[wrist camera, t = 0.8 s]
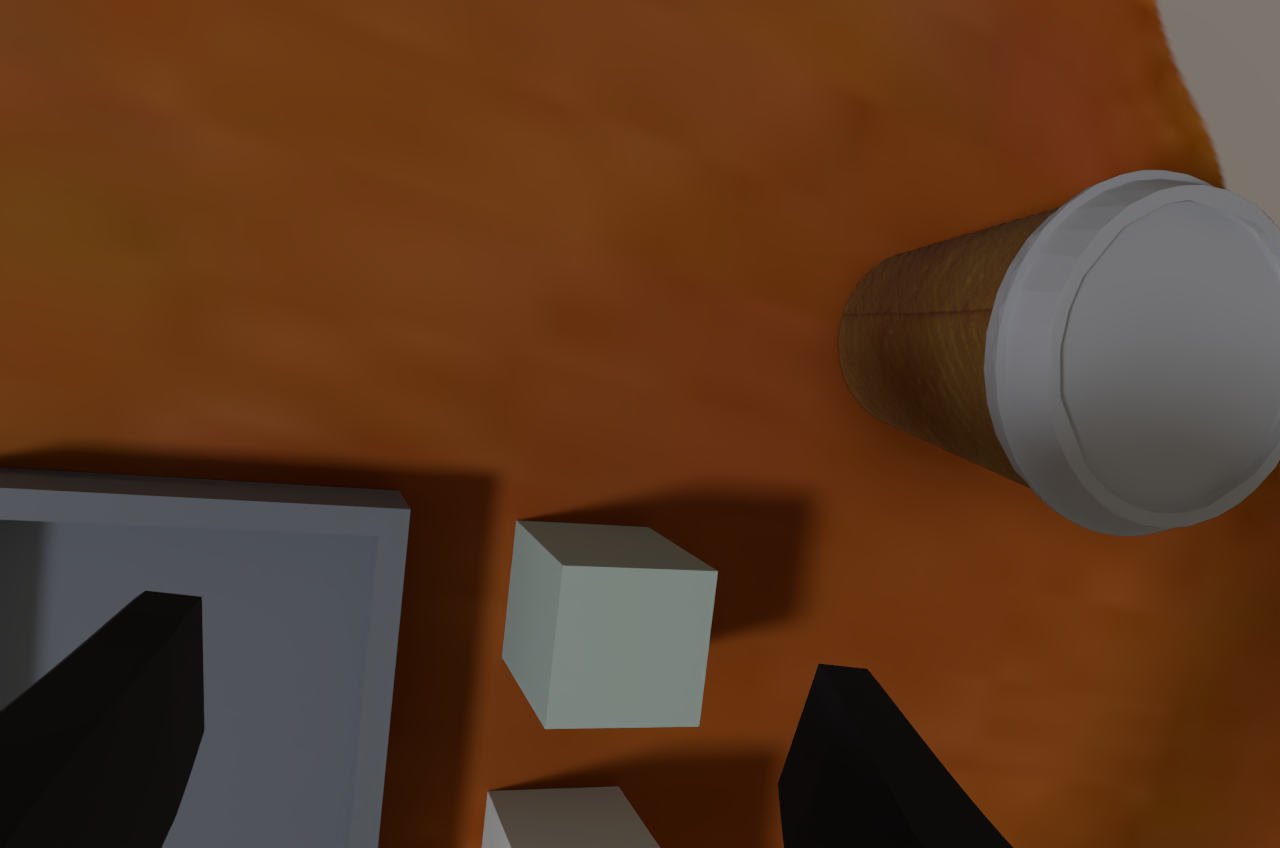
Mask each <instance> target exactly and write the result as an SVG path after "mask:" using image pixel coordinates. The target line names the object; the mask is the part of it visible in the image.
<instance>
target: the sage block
mask: <svg viewBox="0 0 1280 848" xmlns="http://www.w3.org/2000/svg"><path fill="white" fill-rule="evenodd" d="M717 575H718V571H717V570H715V569H714V568H712V567H711V566H709V565H707V564H706V563H704V562H703V561H701V560H700V559H698V558H696V557H695V556H693V555H692V554H690V553H689V552H687V551H685V550H684V549H682V548H681V547H679V546H678V545H676V544H674V543H673V542H671V541H670V540H668V539H667V538H665V537H663V536H662V535H660V534H659V533H657V532H655V531H654V530H652V529H651V528H649V527H637V526H617V525H598V524H578V523H558V522H538V521H518V520H516V529H515V539H514V548H513V558H512V567H511V577H510V586H509V596H508V605H507V615H506V624H505V634H504V643H503V653H502V658H503V660H504V661H505V663H506V665H507V666H508V668H509V670H510V671H511V673H512V675H513V676H514V678H515V680H516V681H517V683H518V685H519V686H520V688H521V690H522V691H523V693H524V695H525V696H526V698H527V700H528V701H529V703H530V705H531V706H532V708H533V710H534V711H535V713H536V715H537V716H538V718H539V720H540V721H541V723H542V725H543V726H544V728H545V729H575V728H638V727H699V723H700V715H701V707H702V699H703V691H704V682H705V674H706V666H707V658H708V649H709V641H710V633H711V625H712V616H713V608H714V600H715V592H716V584H717Z"/></svg>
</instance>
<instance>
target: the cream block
mask: <svg viewBox="0 0 1280 848" xmlns="http://www.w3.org/2000/svg"><path fill="white" fill-rule="evenodd" d="M482 848H660V847H659V845H658V844H657V842H656V841H655V839H654V838H653V836H652V835H651V833H650V832H649V831H648V829H647V828H646V826H645V825H644V823H643V822H642V820H641V819H640V817H639V816H638V814H637V813H636V811H635V810H634V809H633V807H632V806H631V804H630V803H629V801H628V800H627V798H626V797H625V795H624V794H623V792H622V791H621V789H620V788H619V786H615V787H587V788H559V789H531V790H503V791H488V795H487V804H486V814H485V823H484V833H483V842H482Z"/></svg>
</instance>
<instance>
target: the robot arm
mask: <svg viewBox="0 0 1280 848" xmlns="http://www.w3.org/2000/svg"><path fill="white" fill-rule="evenodd" d="M204 731H205V724H204V674H203V625H202V597H200V596H191V595H182V594H173V593H164V592H154V591H144V592H143V593H141V594H140V595H138V596H137V597H135V598H134V599H133V600H132V601H131V602H130V603H128V604H127V605H126V606H125V607H124V608H123V609H121V610H120V611H119V612H118V613H117V614H116V615H114V616H113V617H112V618H111V619H110V620H109V621H108V622H106V623H105V624H104V625H103V626H102V627H101V628H99V629H98V630H97V631H96V632H95V633H94V634H93V635H91V636H90V637H89V638H88V639H87V640H86V641H84V642H83V643H82V644H81V645H80V646H79V647H77V648H76V649H75V650H74V651H73V652H71V653H70V654H69V655H68V656H67V657H66V658H64V659H63V660H62V661H61V662H60V663H58V664H57V665H56V666H55V667H54V668H53V669H51V670H50V671H49V672H48V673H46V674H45V675H44V676H43V677H42V678H40V679H39V680H38V681H37V682H35V683H34V684H33V685H32V686H30V687H29V688H28V689H27V690H25V691H24V692H23V693H22V694H20V695H19V696H18V697H17V698H15V699H14V700H13V701H12V702H10V703H9V704H8V705H7V706H6V707H4V708H3V709H2V710H1V711H0V848H162V846H163V844H164V841H165V839H166V837H167V835H168V833H169V831H170V828H171V826H172V824H173V822H174V820H175V817H176V815H177V812H178V809H179V807H180V804H181V801H182V798H183V795H184V792H185V789H186V786H187V783H188V780H189V777H190V774H191V771H192V768H193V765H194V762H195V759H196V756H197V753H198V750H199V746H200V743H201V740H202V737H203V734H204ZM778 790H779V801H780V812H781V823H782V833H783V841H784V848H1013V847H1012V846H1011V845H1010V844H1009V843H1008V842H1007V841H1006V839H1005V838H1004V837H1003V836H1002V835H1001V834H1000V833H999V831H998V830H997V829H996V828H995V827H994V826H993V825H992V823H991V822H990V821H989V820H988V819H987V818H986V817H985V815H984V814H983V813H982V812H981V811H980V810H979V808H978V807H977V806H976V805H975V804H974V802H973V801H972V800H971V799H970V798H969V796H968V795H967V794H966V793H965V792H964V790H963V789H962V788H961V787H960V786H959V784H958V783H957V782H956V781H955V779H954V778H953V777H952V776H951V775H950V773H949V772H948V771H947V770H946V768H945V767H944V766H943V765H942V763H941V762H940V761H939V760H938V758H937V757H936V756H935V755H934V753H933V752H932V751H931V750H930V748H929V747H928V746H927V744H926V743H925V742H924V741H923V739H922V738H921V737H920V736H919V734H918V733H917V732H916V730H915V729H914V728H913V727H912V725H911V724H910V723H909V721H908V720H907V719H906V718H905V716H904V715H903V714H902V712H901V711H900V710H899V709H898V707H897V706H896V705H895V703H894V702H893V701H892V700H891V698H890V697H889V696H888V694H887V693H886V692H885V691H884V689H883V688H882V687H881V685H880V684H879V683H878V682H877V680H876V679H875V678H874V677H873V676H872V674H871V673H870V672H869V671H868V669H863V668H853V667H844V666H835V665H826V664H819V665H818V668H817V671H816V674H815V677H814V680H813V683H812V685H811V688H810V691H809V694H808V697H807V700H806V703H805V706H804V709H803V712H802V715H801V718H800V721H799V724H798V727H797V729H796V732H795V735H794V738H793V741H792V744H791V747H790V750H789V753H788V756H787V759H786V762H785V765H784V768H783V770H782V773H781V776H780V779H779V782H778Z"/></svg>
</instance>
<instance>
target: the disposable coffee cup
mask: <svg viewBox="0 0 1280 848" xmlns="http://www.w3.org/2000/svg"><path fill="white" fill-rule="evenodd" d="M838 346H839V358H840V364H841V368H842V371H843V375H844V379H845V381H846V383H847V385H848V387H849V389H850V391H851V393H852V394H853V396H854V397H855V398H856V399H857V401H858V402H859V403H860V404H861V405H862V407H863V408H864V409H865V410H866V411H868V412H869V413H870V414H871V415H872V416H874V417H875V418H877V419H879V420H881V421H883V422H885V423H887V424H890V425H892V426H894V427H897V428H899V429H901V430H903V431H905V432H908V433H910V434H912V435H914V436H916V437H918V438H921V439H923V440H925V441H927V442H930V443H932V444H934V445H936V446H938V447H940V448H943V449H945V450H947V451H949V452H951V453H953V454H956V455H958V456H960V457H962V458H964V459H967V460H969V461H971V462H974V463H976V464H978V465H980V466H983V467H985V468H987V469H989V470H991V471H993V472H995V473H998V474H1000V475H1002V476H1004V477H1006V478H1008V479H1011V480H1013V481H1015V482H1018V483H1020V484H1022V485H1024V486H1026V487H1029V488H1031V489H1032V491H1033V492H1034V493H1035V494H1036V495H1037V496H1038V497H1039V498H1040V499H1041V500H1042V501H1044V502H1045V503H1046V504H1047V505H1048V506H1049V507H1050V508H1051V509H1052V510H1053V511H1055V512H1057V513H1058V514H1060V515H1062V516H1063V517H1065V518H1067V519H1068V520H1070V521H1072V522H1073V523H1075V524H1077V525H1079V526H1081V527H1084V528H1087V529H1089V530H1092V531H1096V532H1100V533H1105V534H1110V535H1115V536H1143V535H1147V534H1151V533H1155V532H1160V531H1164V530H1168V529H1171V528H1173V527H1188V526H1191V525H1194V524H1197V523H1200V522H1203V521H1206V520H1209V519H1212V518H1214V517H1217V516H1219V515H1221V514H1222V513H1224V512H1226V511H1228V510H1229V509H1231V508H1233V507H1234V506H1236V505H1238V504H1239V503H1240V502H1241V501H1243V500H1244V499H1245V498H1246V497H1247V496H1249V495H1250V494H1251V493H1252V492H1253V491H1255V490H1256V488H1257V487H1258V486H1259V485H1260V484H1261V483H1262V482H1263V481H1264V480H1265V478H1266V477H1267V476H1268V475H1269V474H1270V473H1271V472H1272V471H1273V470H1274V468H1275V467H1276V465H1277V464H1278V462H1279V460H1280V228H1279V227H1278V226H1277V225H1276V224H1275V223H1274V222H1273V221H1272V220H1271V219H1270V217H1269V216H1267V215H1266V214H1265V213H1264V212H1263V211H1262V210H1261V209H1260V208H1259V207H1258V206H1257V205H1256V204H1254V203H1253V202H1251V201H1249V200H1247V199H1245V198H1243V197H1241V196H1239V195H1237V194H1235V193H1233V192H1231V191H1229V190H1225V189H1220V188H1216V187H1214V186H1212V185H1211V184H1209V183H1206V182H1204V181H1202V180H1200V179H1197V178H1195V177H1193V176H1190V175H1187V174H1182V173H1176V172H1170V171H1165V170H1142V171H1137V172H1132V173H1127V174H1122V175H1119V176H1116V177H1114V178H1111V179H1109V180H1106V181H1104V182H1101V183H1099V184H1096V185H1094V186H1091V187H1089V188H1087V189H1085V190H1084V191H1082V192H1081V193H1079V194H1078V195H1077V196H1075V197H1074V198H1072V199H1071V200H1070V201H1068V202H1067V203H1065V204H1064V205H1063V206H1060V207H1058V208H1055V209H1053V210H1050V211H1044V212H1041V213H1039V214H1036V215H1030V216H1028V217H1025V218H1022V219H1016V220H1014V221H1011V222H1009V223H1003V224H1000V225H998V226H995V227H994V226H993V227H990V228H988V229H985V230H980V231H977V232H974V233H972V234H965V235H963V236H960V237H956V238H953V239H951V240H948V241H943V242H940V243H938V244H933V245H930V246H927V247H923V248H919V249H916V250H913V251H910V252H904V253H901V254H898V255H895V256H892V257H890V258H887V259H886V260H884V261H883V262H881V263H879V264H878V265H876V266H875V267H873V268H872V269H871V271H870V272H869V273H868V274H867V275H866V276H865V277H864V278H863V279H862V280H861V281H860V282H859V283H858V285H857V286H856V288H855V289H854V290H853V292H852V294H851V296H850V298H849V300H848V302H847V304H846V306H845V309H844V313H843V317H842V321H841V325H840V329H839V341H838Z"/></svg>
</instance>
